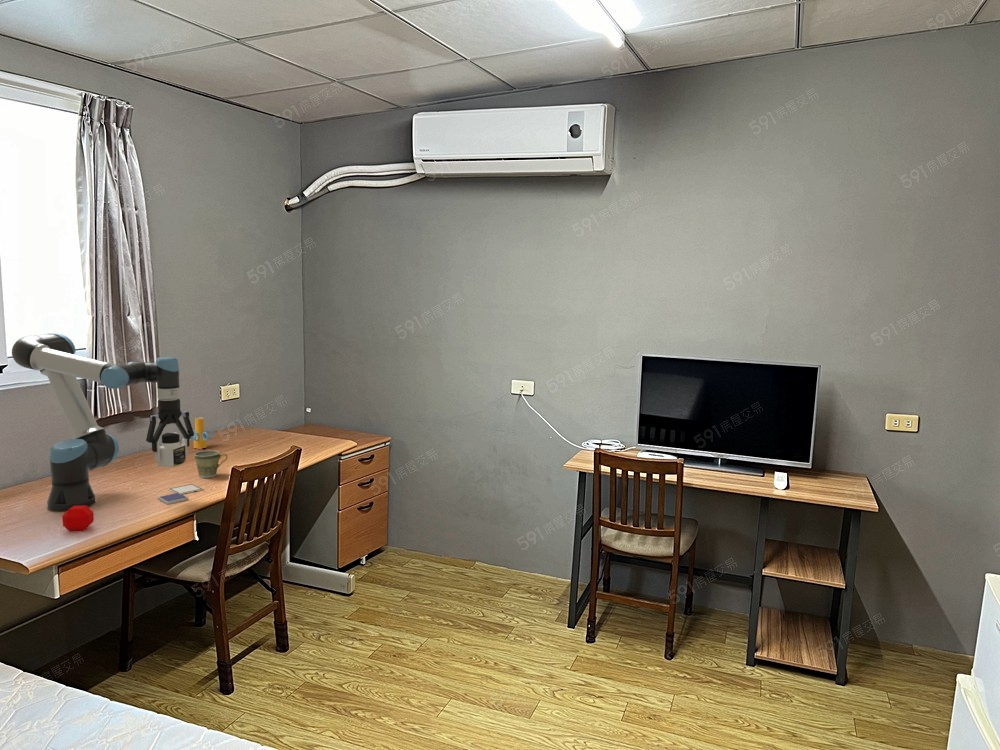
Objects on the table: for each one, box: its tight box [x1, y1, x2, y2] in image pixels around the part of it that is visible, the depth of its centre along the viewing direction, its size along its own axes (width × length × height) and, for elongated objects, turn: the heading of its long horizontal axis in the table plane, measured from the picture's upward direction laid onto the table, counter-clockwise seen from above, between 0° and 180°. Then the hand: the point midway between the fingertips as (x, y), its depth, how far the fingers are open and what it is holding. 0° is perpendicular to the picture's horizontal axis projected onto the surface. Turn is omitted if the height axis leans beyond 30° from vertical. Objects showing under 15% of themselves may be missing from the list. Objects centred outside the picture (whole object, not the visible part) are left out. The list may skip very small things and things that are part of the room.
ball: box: [61, 505, 95, 533], centre depth 236 cm, size 8×8×8 cm
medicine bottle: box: [156, 431, 187, 468], centre depth 267 cm, size 7×7×12 cm
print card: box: [167, 483, 204, 495], centre depth 282 cm, size 10×10×1 cm
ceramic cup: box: [193, 449, 228, 479], centre depth 302 cm, size 13×10×10 cm
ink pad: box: [157, 493, 189, 505], centre depth 270 cm, size 8×8×1 cm
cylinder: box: [189, 417, 214, 449], centre depth 348 cm, size 12×10×15 cm
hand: (171, 457), depth 267 cm, fingers closed on medicine bottle, 9 cm apart
